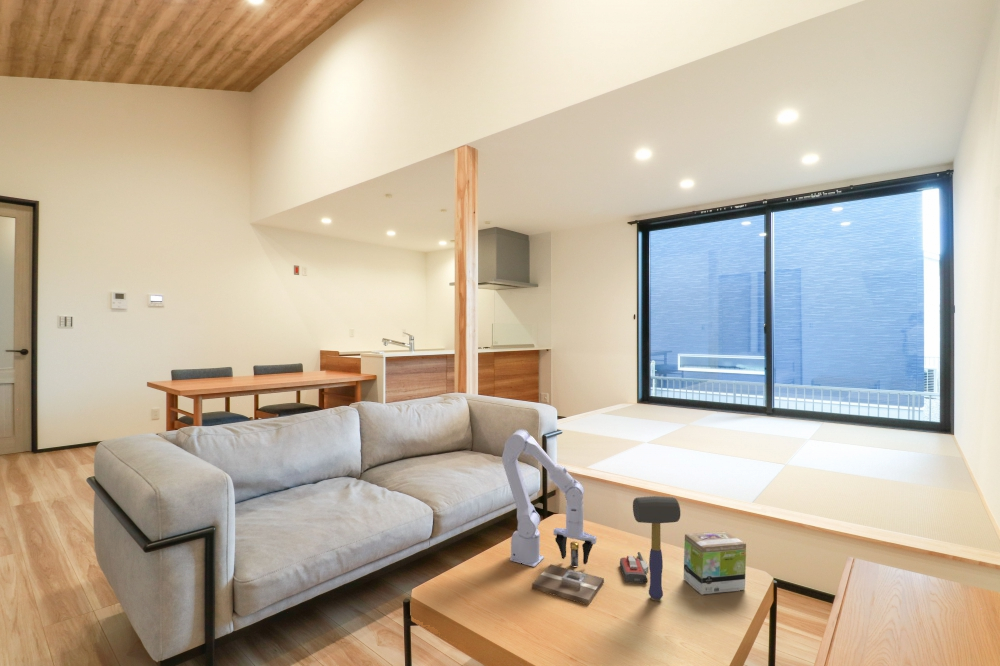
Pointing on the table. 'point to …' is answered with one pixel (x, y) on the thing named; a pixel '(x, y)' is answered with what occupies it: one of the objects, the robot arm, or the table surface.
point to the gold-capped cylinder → (574, 553)
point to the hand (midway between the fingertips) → (574, 560)
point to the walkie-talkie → (634, 569)
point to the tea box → (714, 562)
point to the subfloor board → (553, 584)
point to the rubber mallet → (656, 533)
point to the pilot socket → (575, 575)
